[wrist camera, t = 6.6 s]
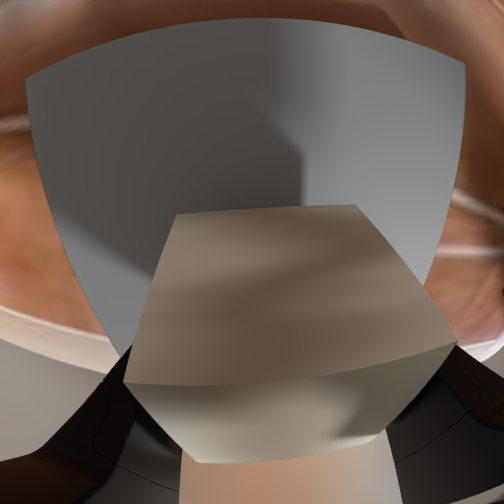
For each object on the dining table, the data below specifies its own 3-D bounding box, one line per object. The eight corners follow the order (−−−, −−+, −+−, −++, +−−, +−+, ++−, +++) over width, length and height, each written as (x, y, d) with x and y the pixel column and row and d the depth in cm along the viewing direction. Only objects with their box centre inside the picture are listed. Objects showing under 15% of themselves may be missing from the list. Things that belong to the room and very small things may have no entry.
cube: (355, 204, 7) (459, 340, 3) (332, 323, 10) (370, 441, 6) (176, 214, 7) (122, 381, 3) (203, 335, 10) (198, 462, 6)
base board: (422, 62, 8) (465, 63, 6) (376, 318, 17) (392, 351, 15) (66, 75, 8) (25, 78, 5) (140, 336, 17) (131, 373, 14)
